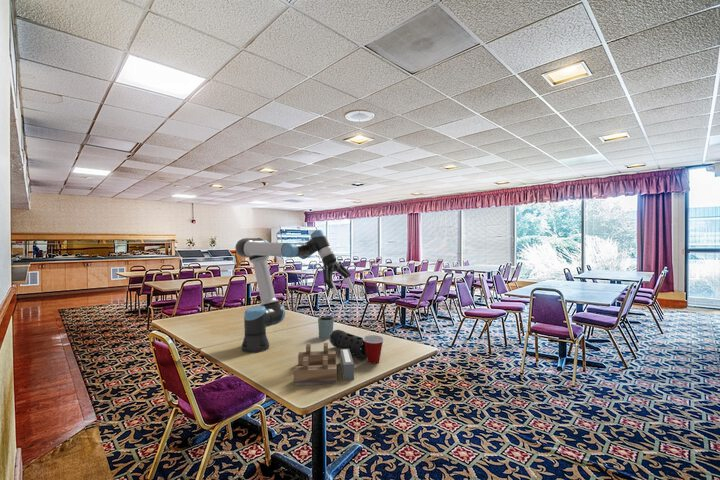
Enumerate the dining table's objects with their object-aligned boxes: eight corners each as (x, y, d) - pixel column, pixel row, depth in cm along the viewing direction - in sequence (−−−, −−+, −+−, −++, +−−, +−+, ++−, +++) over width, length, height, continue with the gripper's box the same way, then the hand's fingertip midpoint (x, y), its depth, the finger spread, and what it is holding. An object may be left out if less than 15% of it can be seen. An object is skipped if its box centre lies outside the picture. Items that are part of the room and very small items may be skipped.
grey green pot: (320, 334, 225) (320, 316, 225) (335, 335, 224) (335, 316, 224) (316, 339, 215) (316, 320, 215) (332, 339, 214) (332, 320, 214)
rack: (336, 383, 148) (336, 359, 148) (294, 385, 147) (293, 361, 147) (335, 362, 174) (335, 342, 174) (299, 363, 172) (299, 343, 172)
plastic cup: (368, 367, 167) (368, 342, 167) (359, 360, 177) (359, 336, 177) (388, 363, 171) (388, 339, 171) (378, 357, 181) (378, 333, 181)
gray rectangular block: (343, 380, 151) (343, 364, 151) (340, 363, 173) (340, 348, 173) (354, 380, 152) (353, 363, 152) (349, 362, 174) (349, 348, 174)
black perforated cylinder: (359, 361, 175) (358, 341, 175) (328, 348, 197) (327, 330, 197) (373, 357, 181) (373, 337, 181) (341, 345, 203) (341, 327, 203)
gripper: (316, 255, 179) (333, 293, 174) (346, 250, 199) (362, 283, 194) (307, 262, 183) (324, 299, 178) (337, 256, 203) (353, 289, 198)
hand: (344, 291), depth 186 cm, fingers open, 13 cm apart
